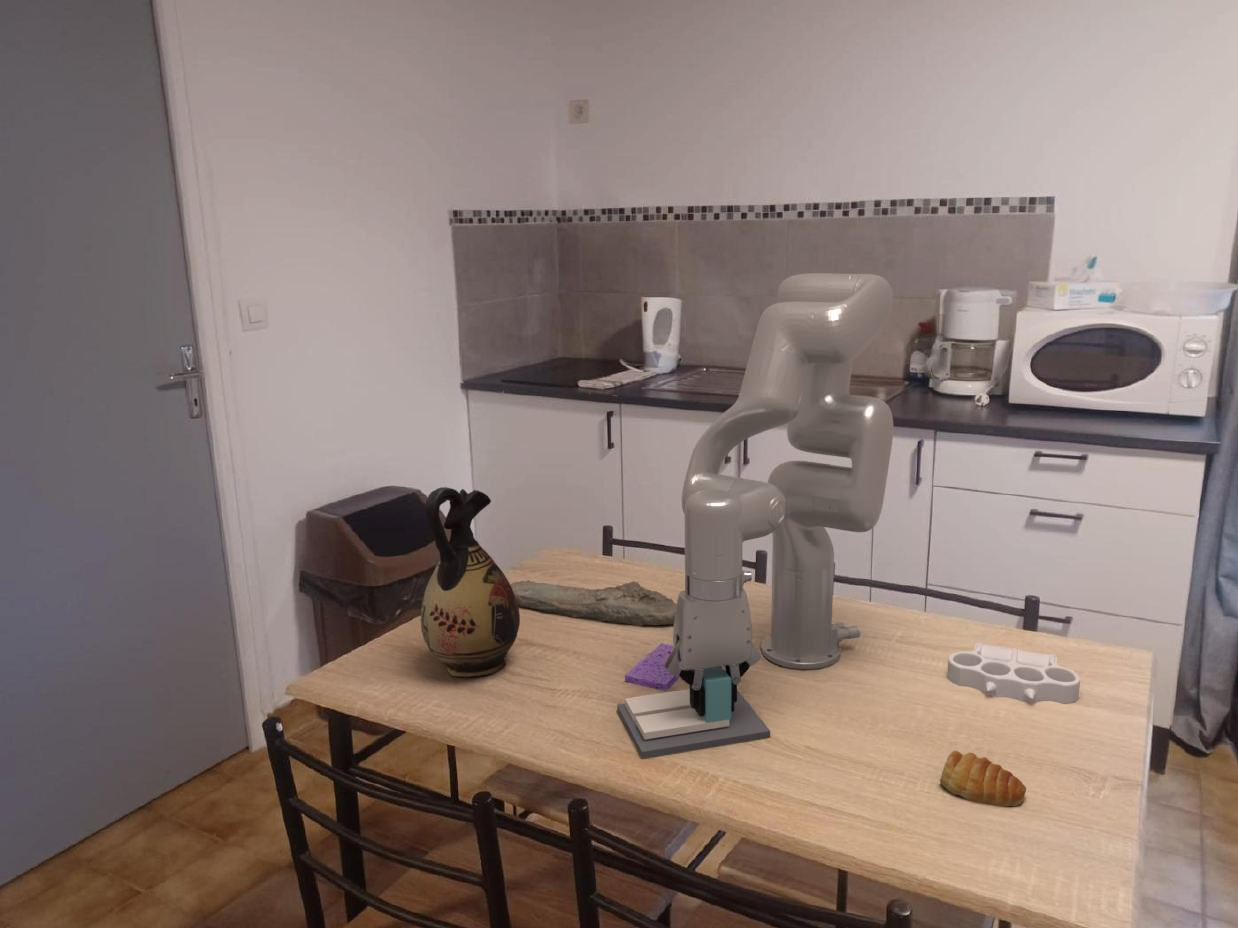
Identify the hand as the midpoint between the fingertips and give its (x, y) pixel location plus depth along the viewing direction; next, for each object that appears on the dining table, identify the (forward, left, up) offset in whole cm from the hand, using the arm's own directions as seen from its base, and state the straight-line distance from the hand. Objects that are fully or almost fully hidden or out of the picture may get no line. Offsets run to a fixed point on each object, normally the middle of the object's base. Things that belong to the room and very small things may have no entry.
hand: (713, 708), depth 128 cm
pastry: (-26, +22, -4) cm, 34 cm away
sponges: (+1, -19, -4) cm, 19 cm away
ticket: (+5, -5, -2) cm, 7 cm away
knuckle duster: (-47, 0, -4) cm, 47 cm away
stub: (+4, 0, -2) cm, 5 cm away
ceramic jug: (+30, -29, -3) cm, 42 cm away
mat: (+2, -2, -3) cm, 4 cm away
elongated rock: (+7, -46, -4) cm, 46 cm away
